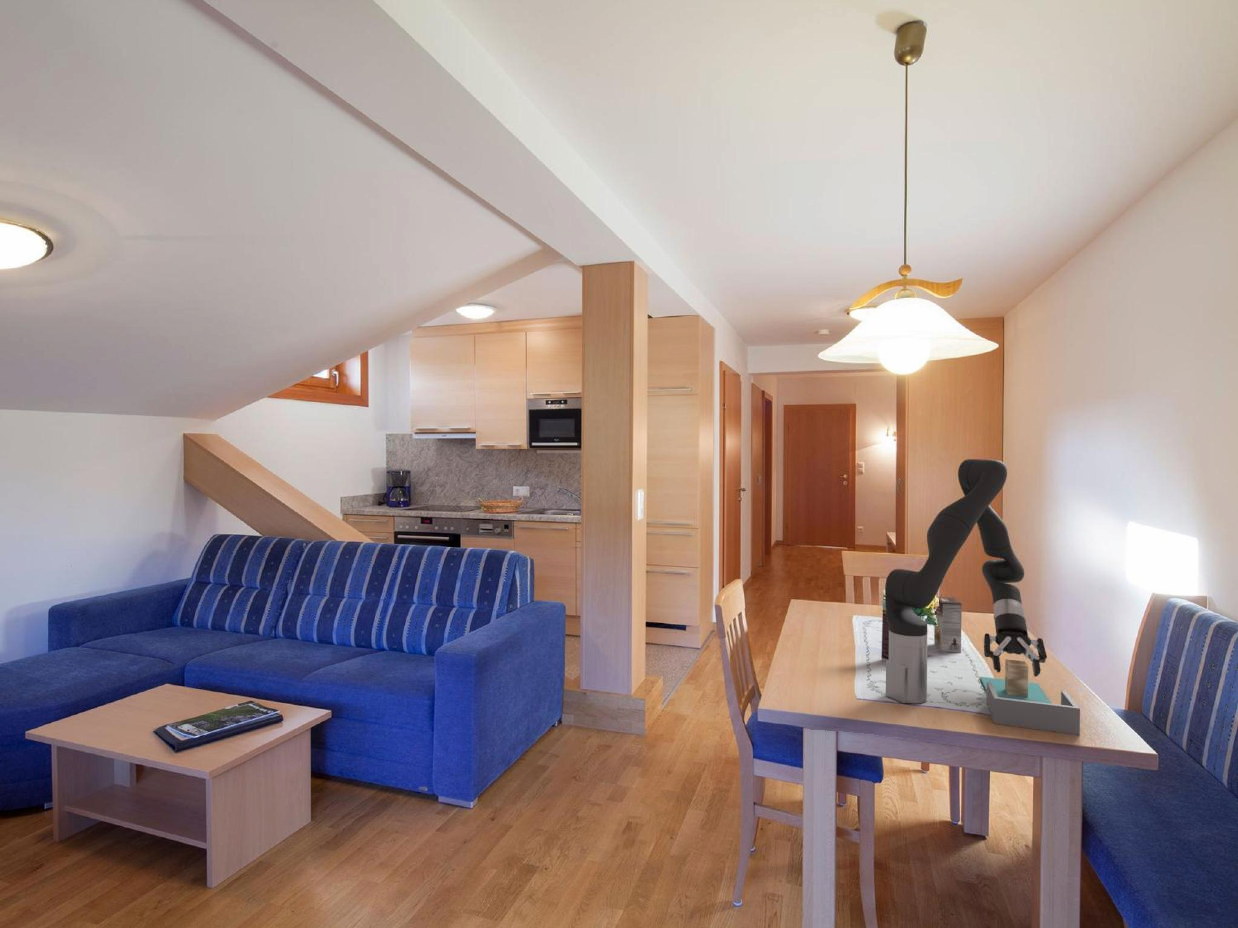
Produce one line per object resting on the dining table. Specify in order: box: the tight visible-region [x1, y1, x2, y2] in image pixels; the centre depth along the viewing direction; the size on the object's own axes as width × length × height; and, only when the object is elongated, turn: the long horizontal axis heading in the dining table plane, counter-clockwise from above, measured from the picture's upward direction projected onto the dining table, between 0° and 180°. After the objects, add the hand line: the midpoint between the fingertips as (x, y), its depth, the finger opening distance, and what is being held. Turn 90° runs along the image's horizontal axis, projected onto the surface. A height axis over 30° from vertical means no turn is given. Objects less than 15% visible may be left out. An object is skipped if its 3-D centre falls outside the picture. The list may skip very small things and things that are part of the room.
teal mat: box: [979, 676, 1053, 704], centre depth 176 cm, size 14×18×1 cm
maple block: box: [1004, 658, 1029, 697], centre depth 174 cm, size 4×4×8 cm
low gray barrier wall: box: [986, 682, 1081, 736], centre depth 158 cm, size 17×12×6 cm
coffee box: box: [933, 596, 963, 653], centre depth 217 cm, size 9×6×16 cm
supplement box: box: [881, 608, 916, 663], centre depth 203 cm, size 9×5×16 cm, turn 105°
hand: (1017, 672), depth 173 cm, fingers open, 8 cm apart
